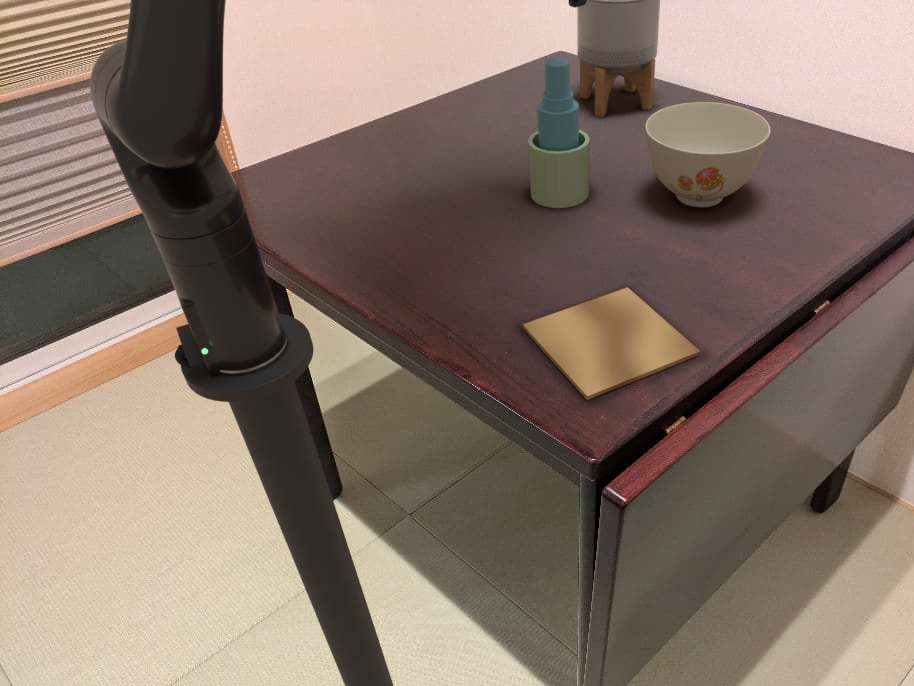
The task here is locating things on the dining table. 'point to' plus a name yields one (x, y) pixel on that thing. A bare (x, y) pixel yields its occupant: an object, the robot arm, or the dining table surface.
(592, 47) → the planter
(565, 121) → the bottle
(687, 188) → the bowl
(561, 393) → the dining table surface
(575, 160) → the holder
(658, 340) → the cork mat
